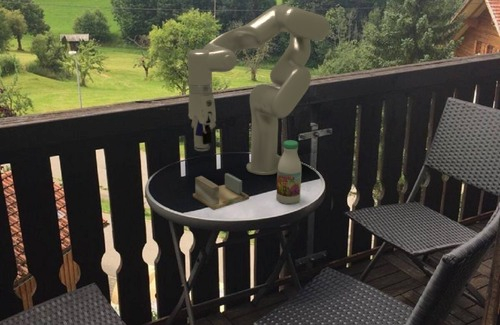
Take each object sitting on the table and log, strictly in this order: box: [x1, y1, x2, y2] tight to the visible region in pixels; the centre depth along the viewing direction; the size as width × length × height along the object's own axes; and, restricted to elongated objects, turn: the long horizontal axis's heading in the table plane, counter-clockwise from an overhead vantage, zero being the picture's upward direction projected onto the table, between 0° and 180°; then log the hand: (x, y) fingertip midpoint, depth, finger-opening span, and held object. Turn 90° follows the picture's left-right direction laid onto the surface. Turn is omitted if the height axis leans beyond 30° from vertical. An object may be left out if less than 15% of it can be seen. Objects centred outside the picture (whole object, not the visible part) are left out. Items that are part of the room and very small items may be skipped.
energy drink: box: [193, 116, 211, 152], centre depth 182 cm, size 5×5×12 cm
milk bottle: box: [275, 139, 302, 204], centre depth 175 cm, size 8×8×20 cm
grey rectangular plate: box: [224, 172, 246, 197], centre depth 180 cm, size 1×10×5 cm, turn 38°
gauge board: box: [192, 175, 250, 211], centre depth 178 cm, size 14×12×7 cm
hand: (202, 140), depth 184 cm, fingers closed on energy drink, 5 cm apart
